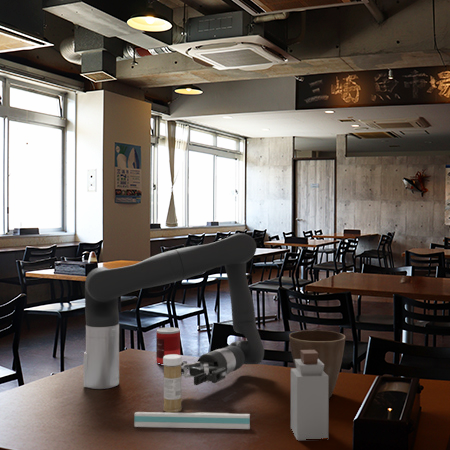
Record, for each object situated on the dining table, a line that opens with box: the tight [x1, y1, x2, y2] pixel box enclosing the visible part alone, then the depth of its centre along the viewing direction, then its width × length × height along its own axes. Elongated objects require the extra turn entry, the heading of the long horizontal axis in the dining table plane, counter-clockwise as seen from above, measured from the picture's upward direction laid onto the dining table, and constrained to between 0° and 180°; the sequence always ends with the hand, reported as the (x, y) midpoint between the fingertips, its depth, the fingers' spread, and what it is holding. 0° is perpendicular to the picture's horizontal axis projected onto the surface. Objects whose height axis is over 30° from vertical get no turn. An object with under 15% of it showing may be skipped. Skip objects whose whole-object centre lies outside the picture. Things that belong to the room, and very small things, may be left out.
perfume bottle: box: [290, 350, 329, 441], centre depth 118 cm, size 7×7×18 cm
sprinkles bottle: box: [162, 354, 183, 413], centre depth 132 cm, size 5×5×14 cm
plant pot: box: [288, 329, 346, 399], centre depth 144 cm, size 15×15×16 cm
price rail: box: [133, 411, 251, 430], centre depth 126 cm, size 26×10×3 cm, turn 87°
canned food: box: [155, 326, 181, 364], centre depth 178 cm, size 8×8×11 cm
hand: (181, 378), depth 135 cm, fingers open, 8 cm apart
